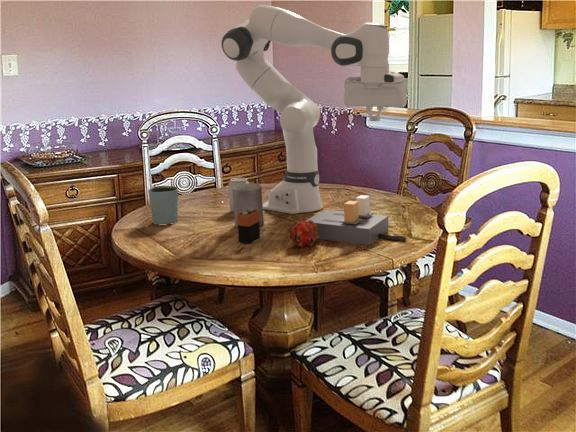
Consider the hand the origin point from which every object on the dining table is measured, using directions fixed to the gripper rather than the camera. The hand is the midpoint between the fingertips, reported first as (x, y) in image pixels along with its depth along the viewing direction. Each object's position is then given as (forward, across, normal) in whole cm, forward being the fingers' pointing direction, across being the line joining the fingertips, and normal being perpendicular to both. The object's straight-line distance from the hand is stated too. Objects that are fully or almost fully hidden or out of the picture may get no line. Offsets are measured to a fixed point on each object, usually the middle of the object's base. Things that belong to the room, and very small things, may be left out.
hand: (374, 121), depth 204 cm
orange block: (+29, -1, -18) cm, 34 cm away
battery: (+34, -29, -32) cm, 55 cm away
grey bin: (+34, -68, -25) cm, 80 cm away
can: (+34, -52, -2) cm, 62 cm away
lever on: (+29, 0, -10) cm, 30 cm away
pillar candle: (+34, -38, -18) cm, 54 cm away
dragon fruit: (+34, -11, -30) cm, 47 cm away
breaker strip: (+34, 0, -14) cm, 37 cm away
